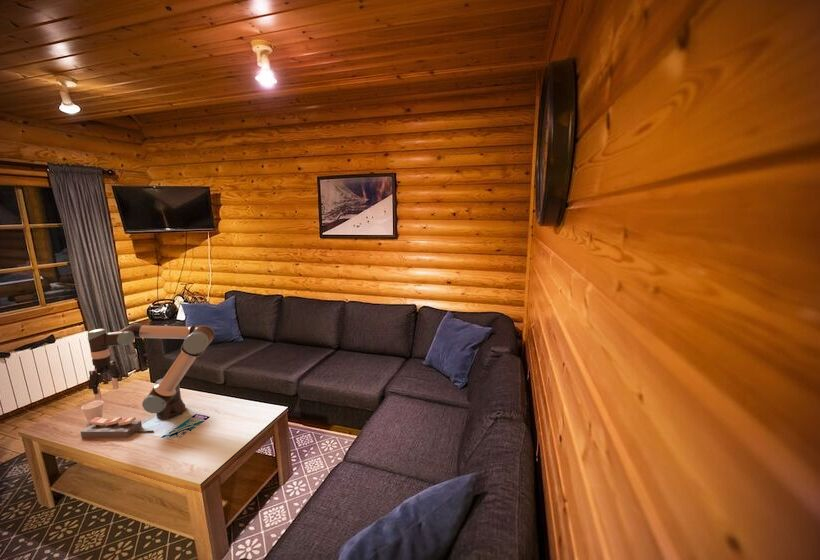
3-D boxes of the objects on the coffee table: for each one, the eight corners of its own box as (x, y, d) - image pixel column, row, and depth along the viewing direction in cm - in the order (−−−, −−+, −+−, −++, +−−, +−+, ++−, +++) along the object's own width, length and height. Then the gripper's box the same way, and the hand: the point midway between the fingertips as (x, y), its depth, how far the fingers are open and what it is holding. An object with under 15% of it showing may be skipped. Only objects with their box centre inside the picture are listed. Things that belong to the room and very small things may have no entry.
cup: (92, 427, 197) (89, 410, 195) (79, 425, 199) (76, 408, 197) (110, 417, 206) (107, 401, 204) (98, 415, 208) (95, 399, 206)
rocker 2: (122, 419, 194) (121, 416, 194) (116, 423, 190) (115, 420, 190) (111, 421, 194) (110, 419, 194) (104, 425, 191) (103, 423, 190)
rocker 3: (136, 419, 194) (135, 416, 194) (130, 423, 190) (129, 420, 190) (124, 421, 195) (123, 418, 194) (118, 425, 191) (117, 423, 190)
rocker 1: (108, 421, 194) (108, 419, 194) (102, 425, 191) (102, 423, 190) (96, 419, 194) (96, 416, 194) (89, 423, 190) (90, 420, 190)
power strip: (159, 426, 197) (158, 419, 196) (146, 437, 187) (145, 429, 186) (98, 427, 197) (96, 419, 196) (81, 438, 187) (80, 429, 186)
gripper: (112, 348, 196) (118, 383, 200) (73, 365, 173) (81, 404, 177) (125, 348, 196) (130, 383, 200) (88, 365, 173) (95, 404, 177)
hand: (107, 393), depth 189 cm, fingers open, 10 cm apart
